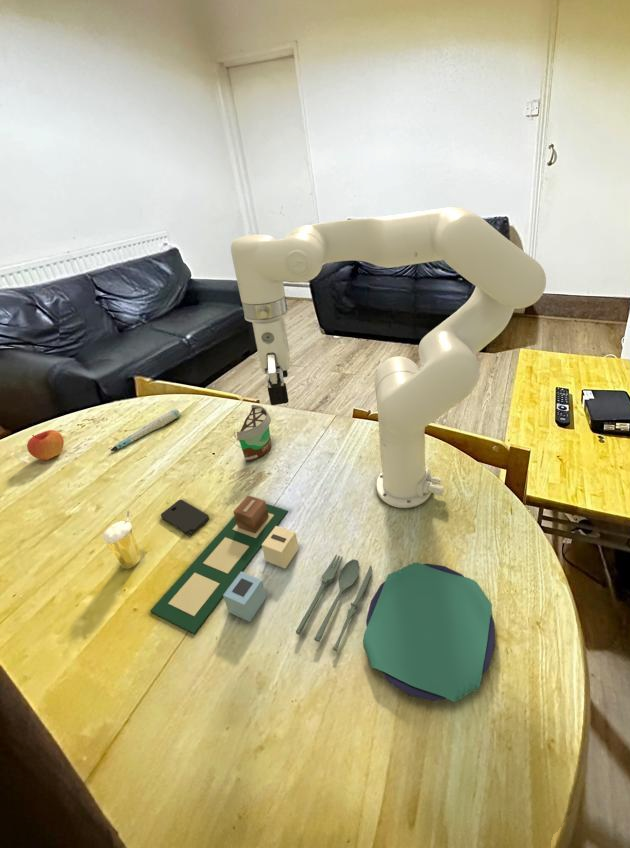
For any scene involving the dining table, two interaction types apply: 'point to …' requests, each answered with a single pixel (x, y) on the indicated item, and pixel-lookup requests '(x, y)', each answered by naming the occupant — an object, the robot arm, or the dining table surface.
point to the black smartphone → (185, 517)
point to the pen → (149, 428)
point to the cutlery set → (421, 628)
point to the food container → (255, 434)
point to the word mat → (213, 573)
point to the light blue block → (245, 596)
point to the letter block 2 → (280, 547)
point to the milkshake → (123, 543)
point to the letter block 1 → (251, 514)
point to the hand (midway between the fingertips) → (279, 389)
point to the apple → (46, 445)
